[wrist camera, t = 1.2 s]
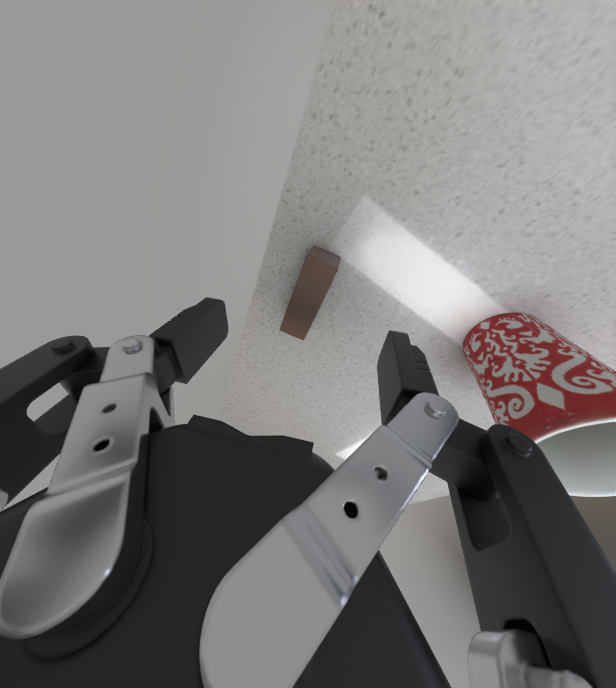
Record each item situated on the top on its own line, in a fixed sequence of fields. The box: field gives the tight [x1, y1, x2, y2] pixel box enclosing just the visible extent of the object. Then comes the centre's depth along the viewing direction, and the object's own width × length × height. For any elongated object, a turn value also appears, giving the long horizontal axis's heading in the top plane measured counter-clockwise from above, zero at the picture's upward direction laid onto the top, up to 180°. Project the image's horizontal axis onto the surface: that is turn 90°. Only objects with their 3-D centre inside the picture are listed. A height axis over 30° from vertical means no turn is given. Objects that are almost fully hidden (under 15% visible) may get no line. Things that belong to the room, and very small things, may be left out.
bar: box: [280, 245, 341, 340], centre depth 24 cm, size 9×3×3 cm, turn 159°
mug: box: [463, 313, 616, 497], centre depth 20 cm, size 13×9×14 cm
